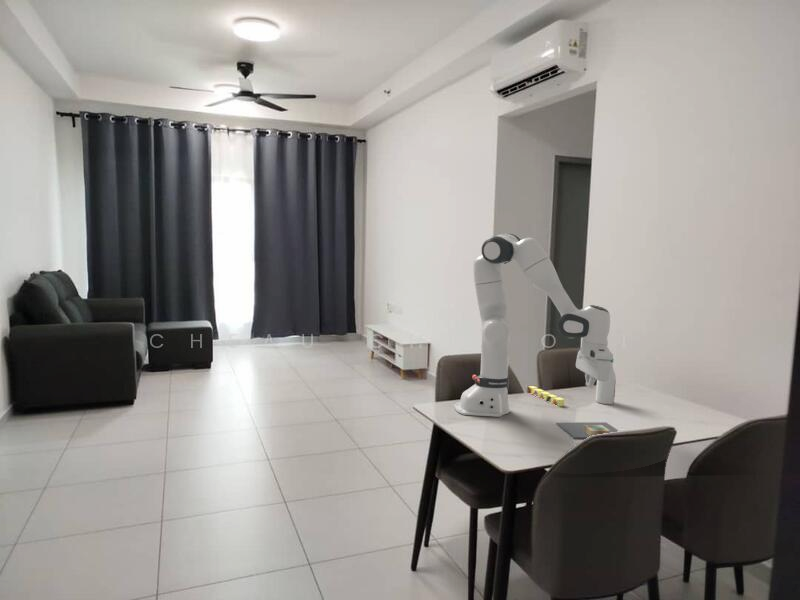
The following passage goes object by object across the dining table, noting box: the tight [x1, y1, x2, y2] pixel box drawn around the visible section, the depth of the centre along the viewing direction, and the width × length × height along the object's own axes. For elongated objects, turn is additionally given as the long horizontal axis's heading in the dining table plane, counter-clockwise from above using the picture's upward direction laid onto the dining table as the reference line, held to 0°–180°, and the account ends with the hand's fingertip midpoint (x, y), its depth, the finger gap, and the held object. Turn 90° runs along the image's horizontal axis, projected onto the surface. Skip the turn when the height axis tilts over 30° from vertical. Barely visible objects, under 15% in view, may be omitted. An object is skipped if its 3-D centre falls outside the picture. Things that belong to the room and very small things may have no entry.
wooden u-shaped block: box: [583, 425, 610, 436], centre depth 198 cm, size 7×2×6 cm
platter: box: [526, 385, 565, 407], centre depth 242 cm, size 32×32×3 cm
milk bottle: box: [595, 358, 617, 405], centre depth 240 cm, size 8×8×20 cm
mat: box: [555, 421, 619, 440], centre depth 202 cm, size 20×16×1 cm
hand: (589, 386), depth 202 cm, fingers closed
